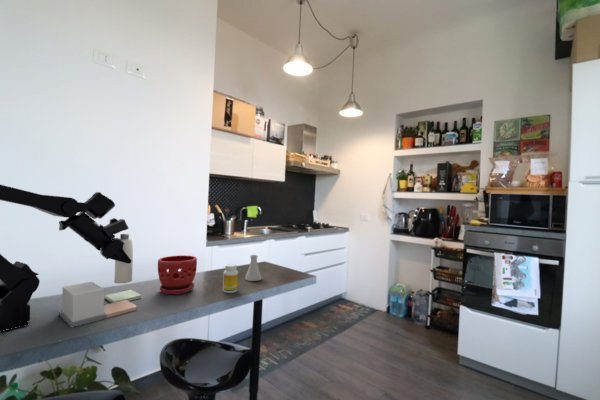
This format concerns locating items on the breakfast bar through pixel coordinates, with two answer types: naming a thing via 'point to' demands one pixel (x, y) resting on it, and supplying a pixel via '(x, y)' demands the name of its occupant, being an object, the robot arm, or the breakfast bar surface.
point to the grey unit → (82, 304)
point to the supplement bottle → (230, 278)
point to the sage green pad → (123, 296)
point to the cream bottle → (123, 269)
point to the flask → (253, 270)
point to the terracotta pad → (119, 308)
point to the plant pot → (177, 273)
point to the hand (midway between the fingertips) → (128, 260)
